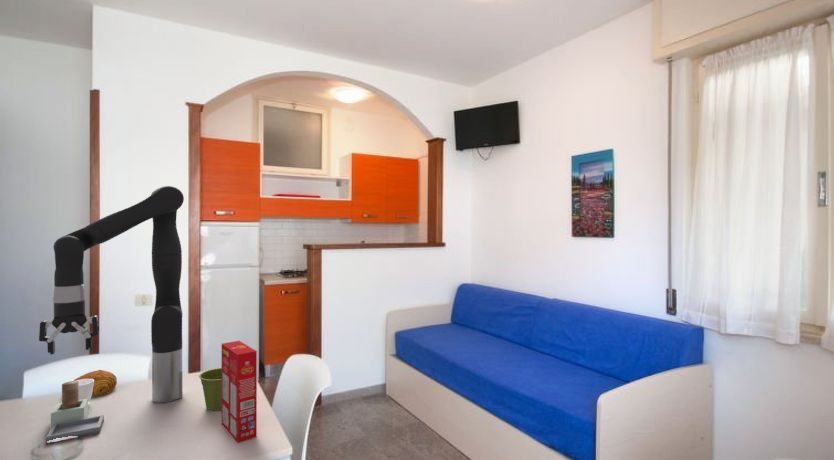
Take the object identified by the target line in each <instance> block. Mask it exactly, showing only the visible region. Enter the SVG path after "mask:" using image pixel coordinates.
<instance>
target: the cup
mask: <svg viewBox="0 0 834 460" xmlns="http://www.w3.org/2000/svg"><path fill="white" fill-rule="evenodd" d="M77 381H78V382H79V400H82V399H88V406H90V404H91V403H90V402H91V399H92V397H91V396H92V392H93V386H94V380H93V379H82V380H77Z"/></svg>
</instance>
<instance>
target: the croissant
mask: <svg viewBox="0 0 834 460" xmlns="http://www.w3.org/2000/svg"><path fill="white" fill-rule="evenodd" d="M82 379H93V380H94V386H93V392H92V396H91V398H92V397H96V396H97V397H99V396H103V395H106V394H109V393H111V392H113V390H114V389H115V388H116V386H117V383H118V381H117V380H118V379H117V376H116V375H115V374H114V373H113V372H110V371H107V370H103V369H98V370H93V371H89V372H87V373H85V374H82V375H80V376H79V377H77V378H75V379H74V380H73V381H77V380H82Z"/></svg>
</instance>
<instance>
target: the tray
mask: <svg viewBox="0 0 834 460" xmlns="http://www.w3.org/2000/svg"><path fill="white" fill-rule="evenodd" d="M104 423H105V415H104V414H101V415H96V416H89V417H87V418H84V419H78V420H73V421H67V422H62V423H56V424H54V425H53V426H52V428H51V427H50V430H49V432H48V433H47V434H46V437H45V442H46V441H49V440H53V439H56V438H62V437H68V436H78V437H80V438H83V437H84V438H85V437H89V436H94V435H99V434H101V431H102V428H103V424H104Z"/></svg>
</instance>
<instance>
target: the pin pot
mask: <svg viewBox="0 0 834 460" xmlns="http://www.w3.org/2000/svg"><path fill="white" fill-rule="evenodd" d="M88 415H89V405H88V399H82V400H79V407H76V408H70V409H64V410H62V402H59V403H56V405H55V406H54V408H53V409H52V411H51V412H50V429H51V428H52V426H53V425H54V424H56V423H62V422H67V421H73V420H78V419H84V418H88Z"/></svg>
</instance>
